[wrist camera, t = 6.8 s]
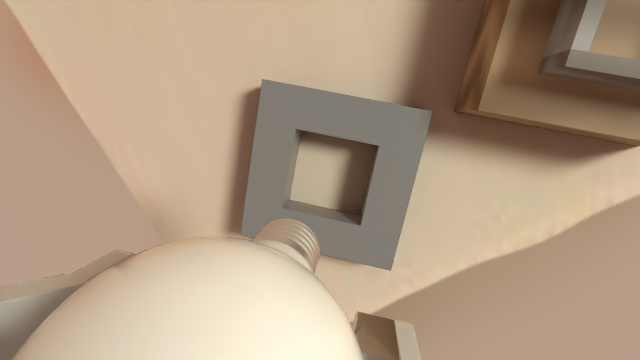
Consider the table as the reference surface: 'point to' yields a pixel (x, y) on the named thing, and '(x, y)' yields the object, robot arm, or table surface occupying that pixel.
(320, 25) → the table surface
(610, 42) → the raised socket stand
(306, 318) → the lightbulb
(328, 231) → the low socket block
